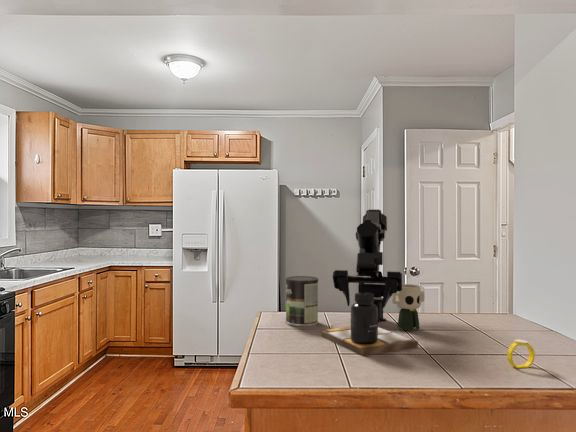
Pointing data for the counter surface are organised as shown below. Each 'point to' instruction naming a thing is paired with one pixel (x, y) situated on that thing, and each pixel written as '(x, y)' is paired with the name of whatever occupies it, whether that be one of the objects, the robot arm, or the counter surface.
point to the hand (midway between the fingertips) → (365, 306)
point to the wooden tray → (384, 344)
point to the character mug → (408, 305)
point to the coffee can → (302, 300)
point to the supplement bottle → (364, 319)
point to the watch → (511, 349)
